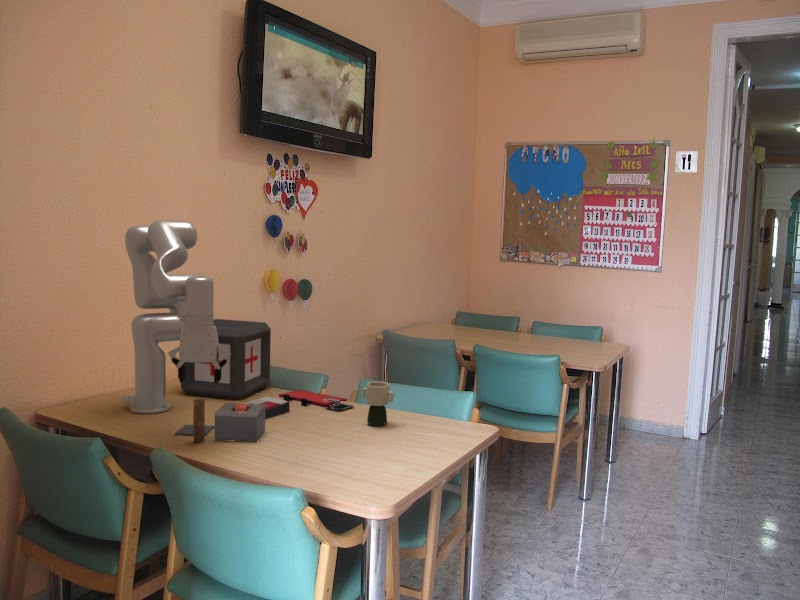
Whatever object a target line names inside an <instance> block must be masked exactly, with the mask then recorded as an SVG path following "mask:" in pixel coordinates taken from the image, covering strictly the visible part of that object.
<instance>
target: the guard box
mask: <svg viewBox="0 0 800 600" xmlns="http://www.w3.org/2000/svg"><path fill="white" fill-rule="evenodd" d="M236 404H238V403H233V402H225V403H223V405H221V406H220V407H219V409H217V410H215V412H214V426H215V428H214V441H221V440H234V441H233V442H245V441H254V442H253V443H257V442H258V441H259V439H260V438H261V437H262V436H263V434H264V433H265V432H266V419H265V406H266V405H263V404H246V405H247V411H235V405H236ZM257 440H258V441H257Z"/></svg>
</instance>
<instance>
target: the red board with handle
mask: <svg viewBox="0 0 800 600" xmlns="http://www.w3.org/2000/svg"><path fill="white" fill-rule="evenodd" d="M278 397H279V398H283V400H284V401H288V402H289V403H290V401H296V402H300V403H301V404H300V406H302V407H308V404H309V405H313V406H319V407H322V408H323V407H324V408H326V409H331V410H336V411H341V410H345V409H349V408H353V407H354V405H352V404H348V403H344V402H343V403H340V402H341V401H348V399H347V398H343V397H338V396H333V395H327V394H322V393H319V392H318V393H317V392H313V391H309V390H303V389H299V390H298V389H297V390H295V391H293V390H292V391H290V392H289V391H288V392H285V393H279V394H278ZM338 400H339V401H338ZM333 404H335V405H333ZM330 405H331V406H330Z"/></svg>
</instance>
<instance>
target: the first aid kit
mask: <svg viewBox="0 0 800 600" xmlns="http://www.w3.org/2000/svg"><path fill="white" fill-rule="evenodd" d="M214 326H216V329H217V334H218V342H219V347H221V348H223V349H225V350H226V351H228V352H230V353H231V356H230V358H229V360H228V362H227V363H226V364H225V365H224V366H223V367H222V368H221V380H220V382H218V383H214V370H215V366H214V365H213V364H212V363H188V362H186V363H185V364H184V366H185V367H186V380H185V381H184V382H182V383H180V389H182V392H184V394H185V395H188V394H192V396H197V395H200V397H207V396H211V397H210V398H216V397H220V398H219V399H225V398H231V399H230V400H235V399H239V400H241V399H243V398H245V397H247V396H249V395H251V393H252V394H254V393H256V392H258V391H260V390H262V389H264V388H266V387H267V386H268V385H269V384H270V383H271V337H272V335H271V334H272V333H271V331H272V330H271V327H270V326H269V325H268V323H267V322H263V321H262V322H261V321H250V320H249V321H248V320H236V319H235V320H234V319H226V318H225V319H223V318H221V319H220V318H215V319H214ZM181 354H182V353H181ZM218 359H219V360H220V362H221V361H222V360H223V359H224V355H222V354H221V353H219V358H218ZM257 390H258V391H257ZM255 391H256V392H255ZM253 392H254V393H253ZM246 395H247V396H246ZM244 396H245V397H244ZM242 397H243V398H242ZM240 398H241V399H240Z"/></svg>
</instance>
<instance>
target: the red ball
mask: <svg viewBox="0 0 800 600" xmlns="http://www.w3.org/2000/svg"><path fill="white" fill-rule="evenodd" d="M235 411H247V405H246V404H243V403H237V404H236V405H235Z"/></svg>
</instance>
